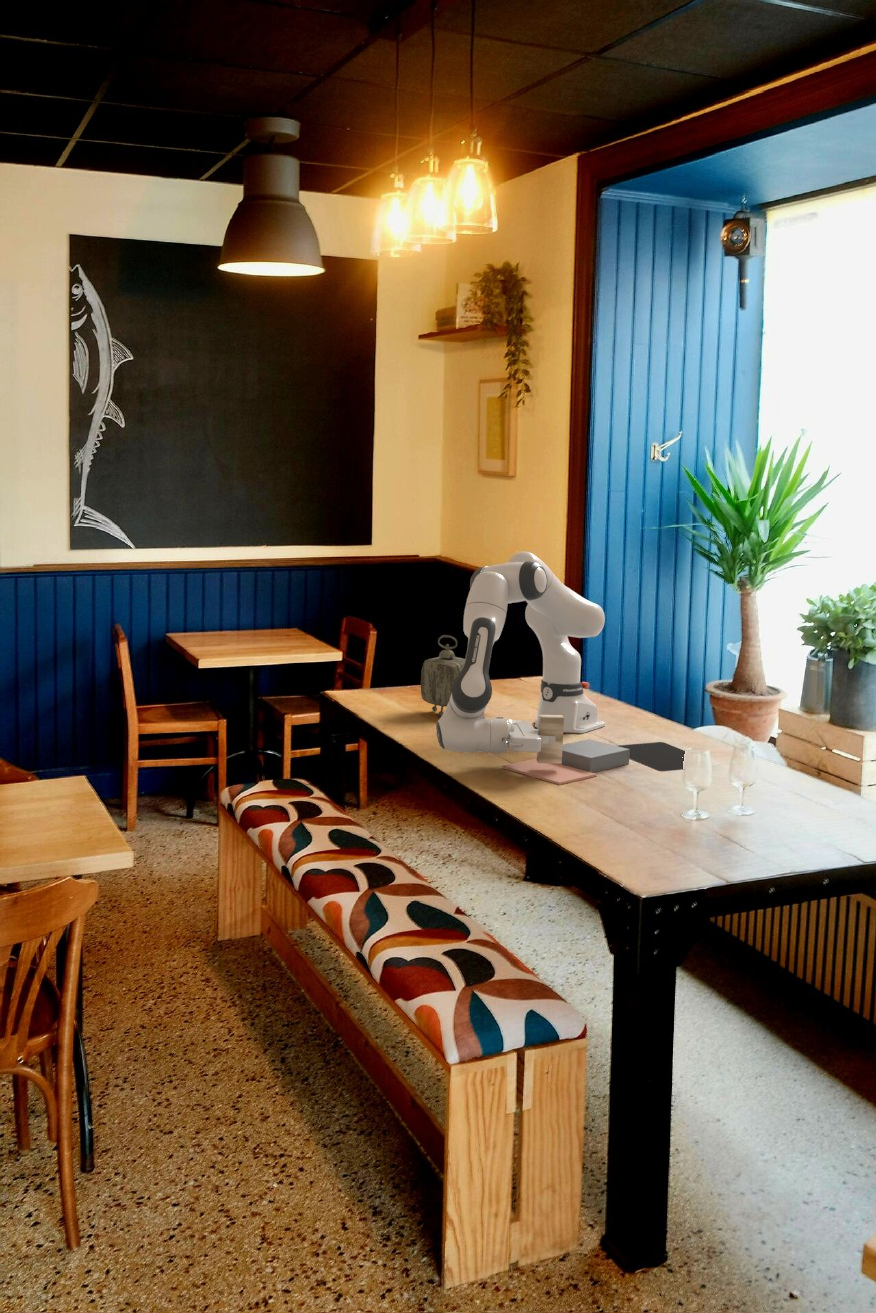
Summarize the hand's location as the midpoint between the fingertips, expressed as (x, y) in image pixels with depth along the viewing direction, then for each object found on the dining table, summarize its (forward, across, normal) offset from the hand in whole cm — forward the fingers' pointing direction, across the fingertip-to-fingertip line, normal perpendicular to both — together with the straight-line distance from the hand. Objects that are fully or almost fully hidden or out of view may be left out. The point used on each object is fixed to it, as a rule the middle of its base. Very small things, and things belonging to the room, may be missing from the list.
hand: (553, 737), depth 314 cm
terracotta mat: (-1, 0, +9) cm, 9 cm away
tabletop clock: (-23, +66, +9) cm, 70 cm away
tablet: (+33, +19, +10) cm, 39 cm away
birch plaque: (-1, 0, +7) cm, 7 cm away
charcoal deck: (+12, +10, +9) cm, 18 cm away
